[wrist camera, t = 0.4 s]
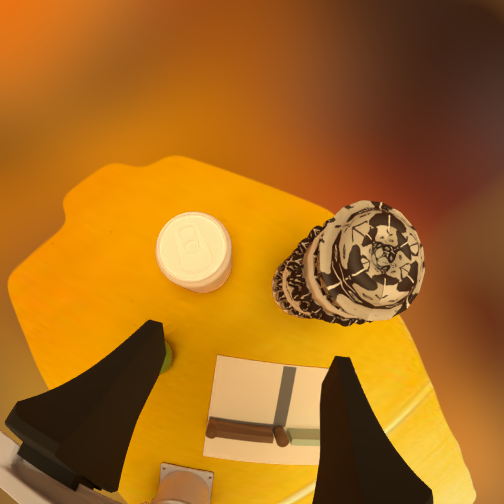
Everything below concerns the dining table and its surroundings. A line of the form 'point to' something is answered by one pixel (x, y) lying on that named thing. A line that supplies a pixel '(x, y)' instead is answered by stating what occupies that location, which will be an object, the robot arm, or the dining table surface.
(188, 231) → the beverage can
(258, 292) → the dining table surface
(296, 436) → the fence gate
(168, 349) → the snail figurine
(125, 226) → the dining table surface
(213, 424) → the base
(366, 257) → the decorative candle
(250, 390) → the card
